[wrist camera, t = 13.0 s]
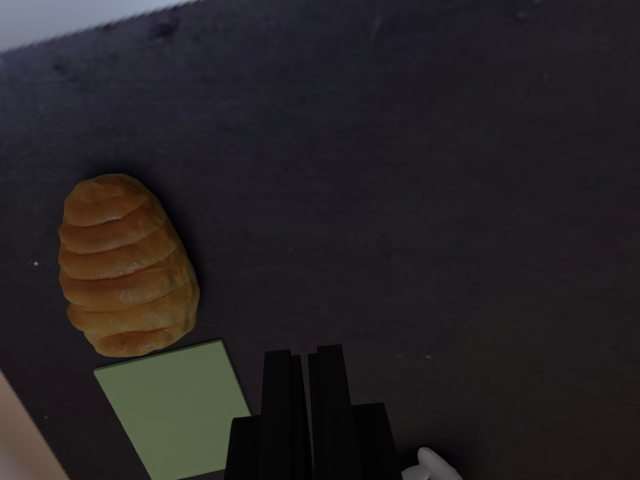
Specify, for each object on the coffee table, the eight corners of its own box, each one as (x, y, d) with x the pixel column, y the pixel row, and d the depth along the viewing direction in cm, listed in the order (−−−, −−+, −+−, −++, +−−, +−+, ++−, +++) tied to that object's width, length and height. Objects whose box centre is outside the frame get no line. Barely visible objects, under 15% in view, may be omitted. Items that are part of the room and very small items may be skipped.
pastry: (42, 177, 25) (3, 203, 22) (175, 161, 25) (157, 184, 22) (96, 331, 29) (70, 374, 26) (211, 316, 29) (201, 357, 26)
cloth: (94, 368, 30) (92, 371, 30) (221, 338, 30) (221, 341, 29) (155, 481, 34) (154, 484, 34) (267, 455, 34) (267, 459, 34)
